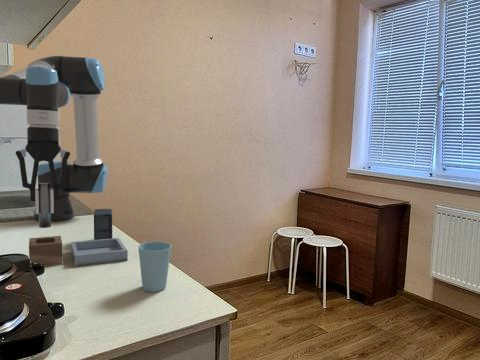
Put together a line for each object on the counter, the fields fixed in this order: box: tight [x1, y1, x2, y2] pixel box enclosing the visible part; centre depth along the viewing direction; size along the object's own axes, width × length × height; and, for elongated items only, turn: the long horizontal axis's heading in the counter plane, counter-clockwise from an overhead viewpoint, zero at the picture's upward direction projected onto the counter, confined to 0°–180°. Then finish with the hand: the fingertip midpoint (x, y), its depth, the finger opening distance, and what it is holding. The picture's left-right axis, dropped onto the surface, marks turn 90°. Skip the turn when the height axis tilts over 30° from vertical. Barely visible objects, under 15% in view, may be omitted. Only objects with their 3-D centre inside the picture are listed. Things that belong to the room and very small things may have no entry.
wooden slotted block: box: [28, 235, 63, 267], centre depth 108 cm, size 8×8×6 cm
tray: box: [70, 237, 129, 267], centre depth 114 cm, size 14×14×3 cm
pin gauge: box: [37, 183, 52, 229], centre depth 106 cm, size 3×3×12 cm
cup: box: [137, 241, 172, 293], centre depth 93 cm, size 8×8×10 cm
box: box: [93, 208, 113, 240], centre depth 128 cm, size 8×6×11 cm
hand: (44, 212), depth 106 cm, fingers closed on pin gauge, 3 cm apart
